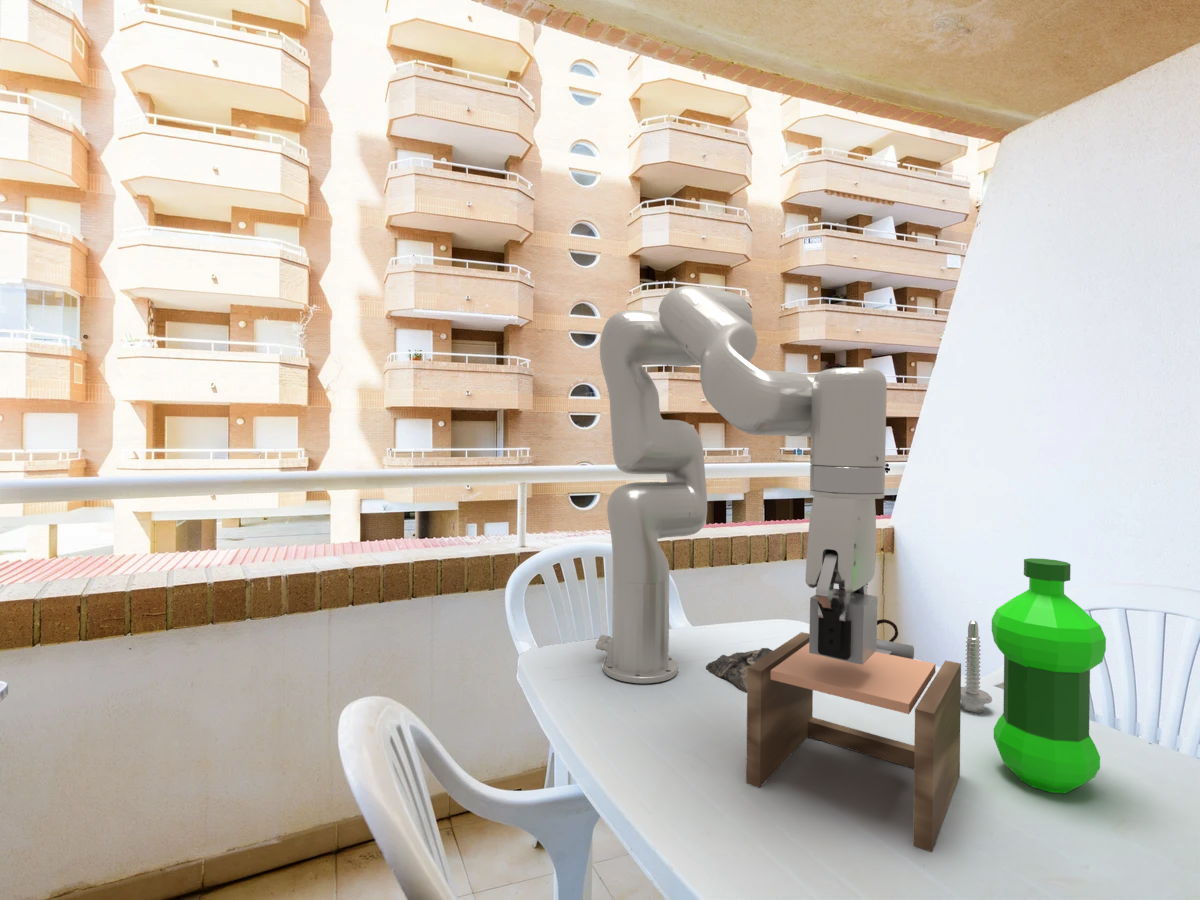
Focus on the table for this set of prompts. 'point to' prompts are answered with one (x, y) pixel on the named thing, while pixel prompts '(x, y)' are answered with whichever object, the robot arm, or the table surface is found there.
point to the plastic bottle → (1047, 681)
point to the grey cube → (852, 626)
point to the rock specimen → (736, 666)
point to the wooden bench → (859, 735)
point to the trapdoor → (862, 676)
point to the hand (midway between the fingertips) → (842, 646)
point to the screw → (973, 674)
